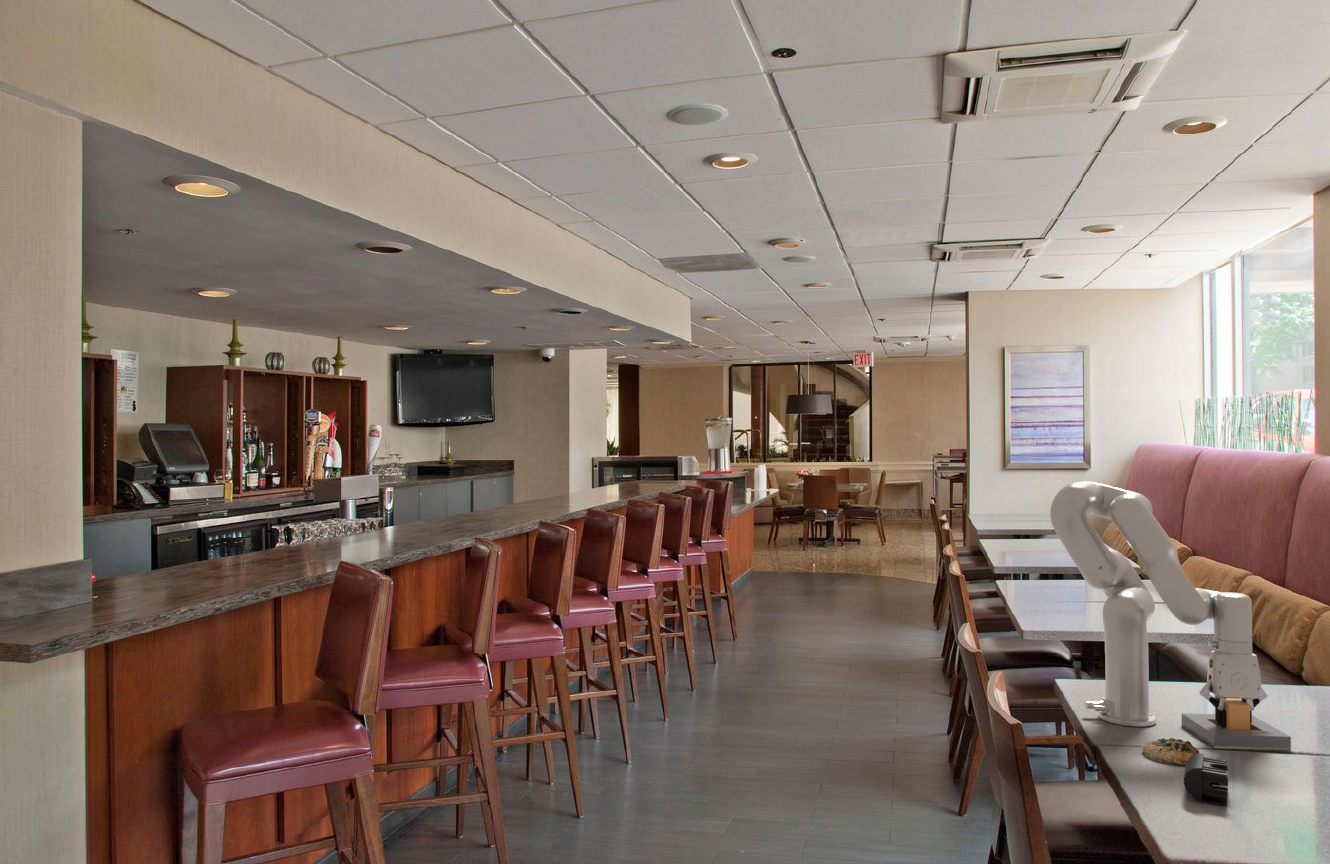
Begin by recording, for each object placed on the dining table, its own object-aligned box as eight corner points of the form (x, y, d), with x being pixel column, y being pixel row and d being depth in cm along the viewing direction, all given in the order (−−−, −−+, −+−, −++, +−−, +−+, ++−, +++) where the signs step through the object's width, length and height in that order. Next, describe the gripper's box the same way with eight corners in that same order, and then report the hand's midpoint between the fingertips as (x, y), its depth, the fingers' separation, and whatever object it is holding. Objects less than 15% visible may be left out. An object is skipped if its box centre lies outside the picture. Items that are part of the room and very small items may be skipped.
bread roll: (1193, 751, 203) (1193, 729, 202) (1208, 775, 192) (1207, 752, 191) (1138, 748, 206) (1137, 727, 205) (1149, 772, 195) (1148, 750, 195)
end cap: (1186, 784, 183) (1186, 750, 183) (1228, 791, 179) (1227, 757, 180) (1183, 801, 175) (1183, 765, 175) (1227, 809, 171) (1226, 772, 171)
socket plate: (1214, 748, 204) (1214, 734, 204) (1181, 726, 220) (1181, 713, 220) (1290, 750, 203) (1290, 736, 203) (1252, 728, 219) (1252, 715, 219)
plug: (1229, 730, 209) (1229, 704, 209) (1217, 723, 215) (1217, 697, 215) (1250, 731, 209) (1249, 704, 209) (1237, 724, 214) (1237, 698, 214)
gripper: (1202, 649, 209) (1202, 730, 209) (1281, 651, 207) (1281, 732, 207) (1186, 642, 216) (1187, 720, 216) (1262, 644, 215) (1263, 722, 214)
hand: (1233, 725), depth 212 cm, fingers closed on plug, 4 cm apart
